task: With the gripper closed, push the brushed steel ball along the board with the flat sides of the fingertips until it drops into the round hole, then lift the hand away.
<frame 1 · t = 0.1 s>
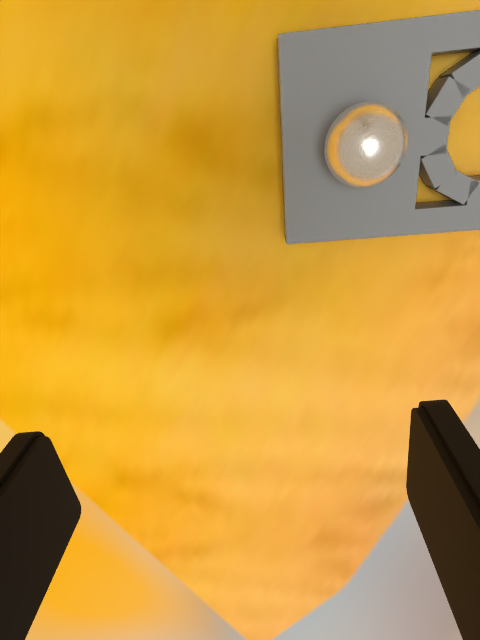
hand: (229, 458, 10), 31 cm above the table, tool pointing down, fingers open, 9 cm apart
hole board: (421, 135, 34), on the table
steel ball: (365, 146, 30), point 5 cm above the table, touching hole board
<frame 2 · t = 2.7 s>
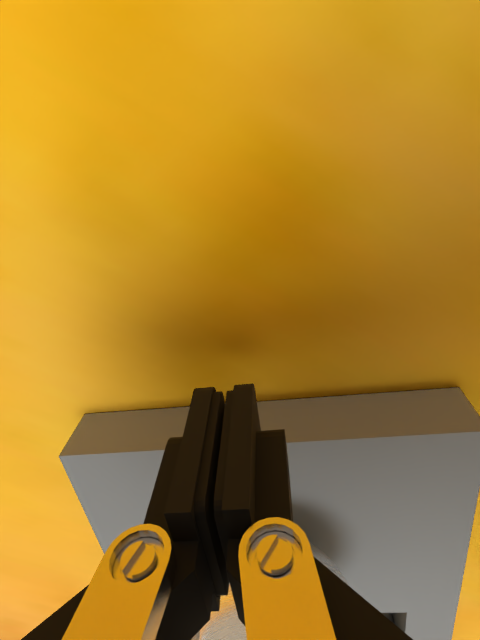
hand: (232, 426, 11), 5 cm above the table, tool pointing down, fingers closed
hole board: (285, 571, 22), on the table
steel ball: (277, 624, 15), point 5 cm above the table, touching hole board
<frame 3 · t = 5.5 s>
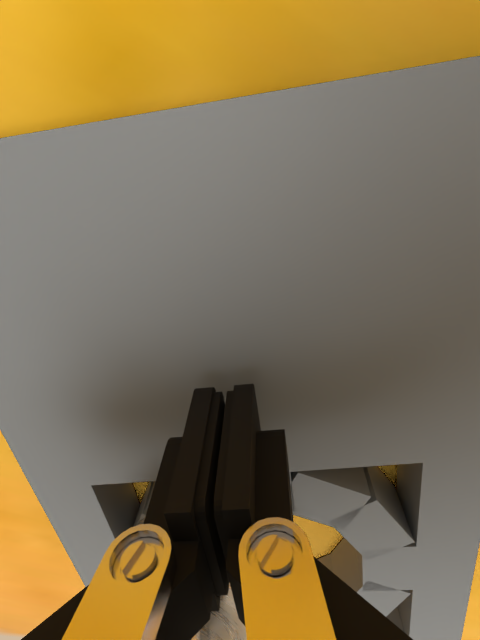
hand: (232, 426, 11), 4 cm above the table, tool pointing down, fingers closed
hole board: (253, 438, 16), on the table
steel ball: (195, 605, 12), point 5 cm above the table, tilted 144°, touching hole board
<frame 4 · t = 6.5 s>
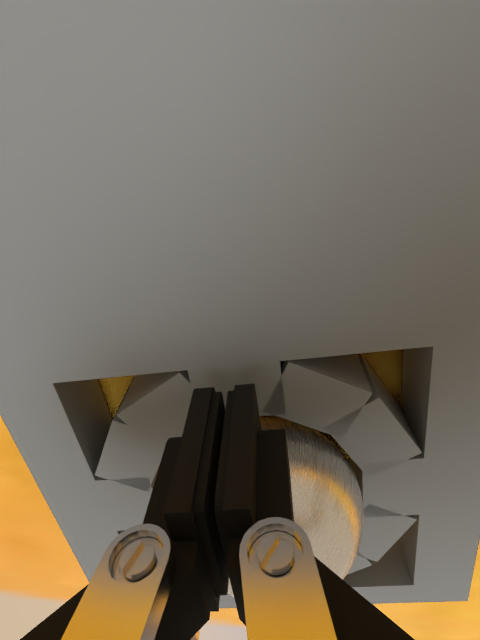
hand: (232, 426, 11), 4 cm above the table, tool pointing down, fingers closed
hole board: (240, 344, 14), on the table
steel ball: (274, 504, 14), point 3 cm above the table, tilted 93°, touching gripper
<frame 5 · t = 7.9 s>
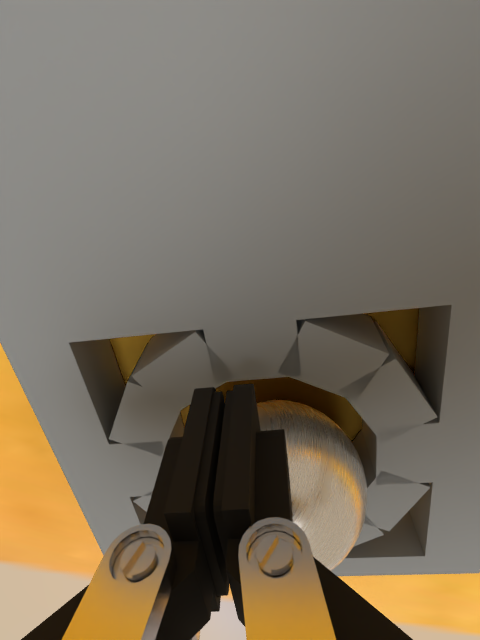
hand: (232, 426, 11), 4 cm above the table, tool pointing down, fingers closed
hole board: (254, 310, 14), on the table
steel ball: (279, 485, 14), point 3 cm above the table, tilted 84°, touching gripper
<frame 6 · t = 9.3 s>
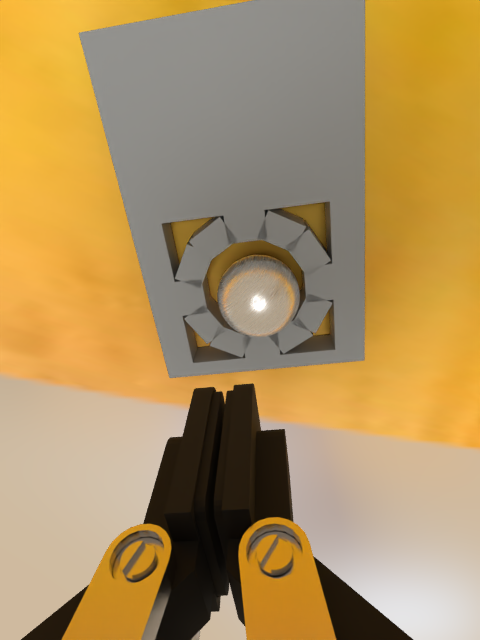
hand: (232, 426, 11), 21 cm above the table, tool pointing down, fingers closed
hole board: (246, 215, 29), on the table
steel ball: (258, 296, 29), point 3 cm above the table, tilted 89°
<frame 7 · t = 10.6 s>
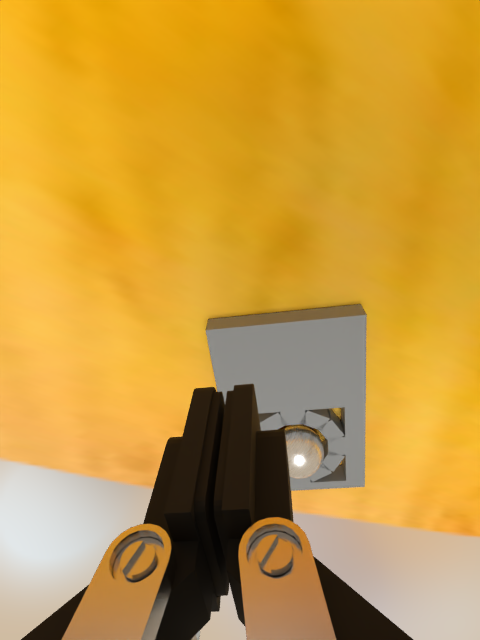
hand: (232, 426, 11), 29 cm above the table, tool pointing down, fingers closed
hole board: (291, 402, 47), on the table
steel ball: (297, 451, 47), point 3 cm above the table, tilted 97°
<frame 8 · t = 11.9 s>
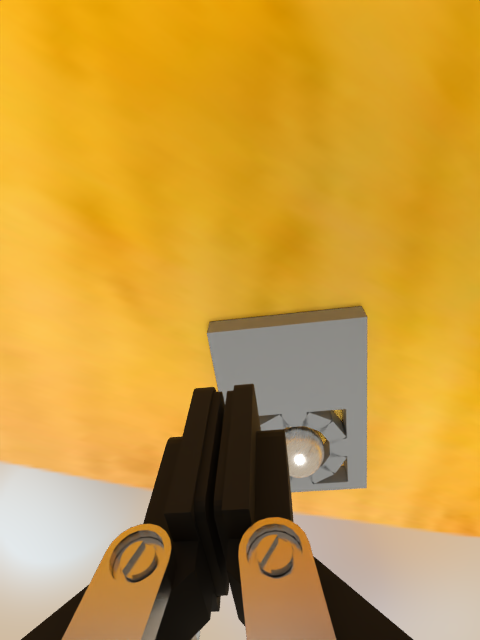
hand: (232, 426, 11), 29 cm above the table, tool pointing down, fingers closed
hole board: (293, 404, 47), on the table
steel ball: (298, 450, 47), point 3 cm above the table, tilted 104°
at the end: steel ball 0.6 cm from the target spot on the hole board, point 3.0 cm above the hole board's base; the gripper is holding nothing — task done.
